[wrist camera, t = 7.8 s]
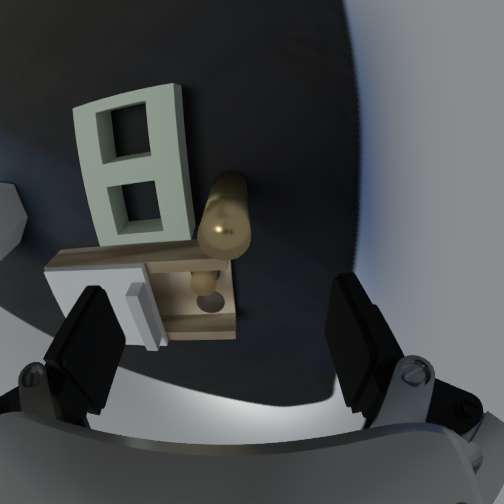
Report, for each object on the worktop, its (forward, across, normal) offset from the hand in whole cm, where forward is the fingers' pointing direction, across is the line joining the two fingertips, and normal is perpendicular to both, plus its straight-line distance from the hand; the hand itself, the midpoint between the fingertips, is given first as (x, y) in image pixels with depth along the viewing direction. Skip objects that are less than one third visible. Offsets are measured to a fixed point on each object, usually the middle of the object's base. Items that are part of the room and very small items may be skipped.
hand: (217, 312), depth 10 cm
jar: (+16, +28, -1) cm, 33 cm away
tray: (+16, +10, +10) cm, 22 cm away
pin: (+16, 0, 0) cm, 16 cm away
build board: (+16, +8, -3) cm, 18 cm away
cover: (+12, +14, +10) cm, 21 cm away
